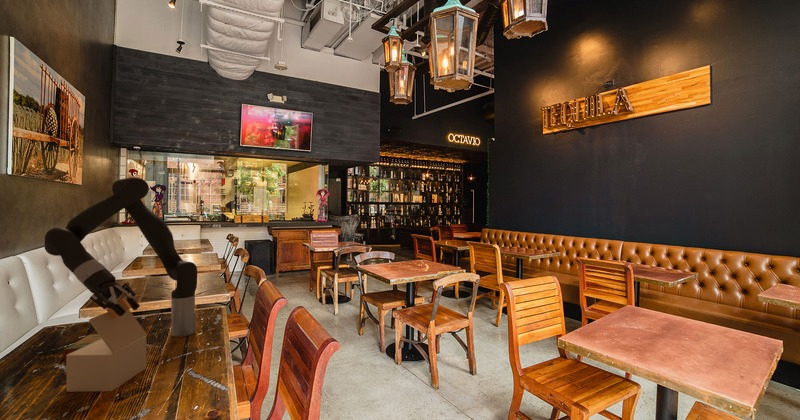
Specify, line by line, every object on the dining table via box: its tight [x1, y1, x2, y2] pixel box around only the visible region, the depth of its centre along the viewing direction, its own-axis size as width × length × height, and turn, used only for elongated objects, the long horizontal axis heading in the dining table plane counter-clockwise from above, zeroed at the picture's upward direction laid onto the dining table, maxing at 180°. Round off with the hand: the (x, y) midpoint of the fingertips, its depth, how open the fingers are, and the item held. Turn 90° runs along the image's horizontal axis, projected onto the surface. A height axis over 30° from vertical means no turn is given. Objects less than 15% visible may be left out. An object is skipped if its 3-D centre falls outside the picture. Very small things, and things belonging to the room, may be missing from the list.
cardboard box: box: [65, 335, 147, 393], centre depth 121 cm, size 14×16×12 cm
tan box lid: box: [88, 297, 148, 353], centre depth 121 cm, size 14×15×7 cm
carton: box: [62, 333, 102, 360], centre depth 145 cm, size 8×16×4 cm, turn 12°
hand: (130, 311), depth 121 cm, fingers open, 6 cm apart
